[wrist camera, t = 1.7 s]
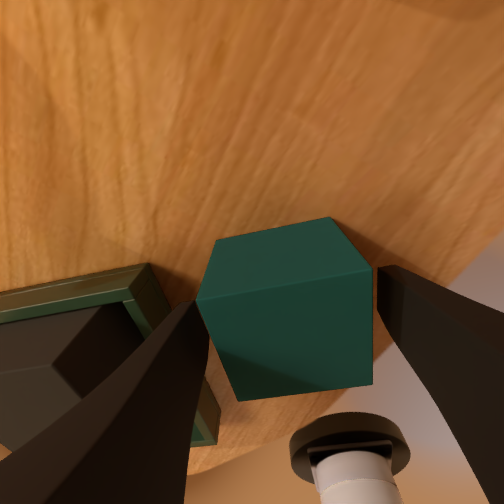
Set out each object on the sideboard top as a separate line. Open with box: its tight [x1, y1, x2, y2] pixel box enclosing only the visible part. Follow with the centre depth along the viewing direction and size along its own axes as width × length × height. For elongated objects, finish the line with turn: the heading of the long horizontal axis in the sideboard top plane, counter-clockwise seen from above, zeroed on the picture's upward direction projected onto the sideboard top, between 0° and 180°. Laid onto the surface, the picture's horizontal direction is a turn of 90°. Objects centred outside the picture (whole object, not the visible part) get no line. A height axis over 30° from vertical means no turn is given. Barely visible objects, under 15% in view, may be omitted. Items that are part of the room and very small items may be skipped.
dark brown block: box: [0, 301, 145, 452], centre depth 11 cm, size 5×5×4 cm
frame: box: [0, 263, 221, 448], centre depth 14 cm, size 12×8×2 cm
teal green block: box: [196, 217, 373, 402], centre depth 10 cm, size 5×5×4 cm
